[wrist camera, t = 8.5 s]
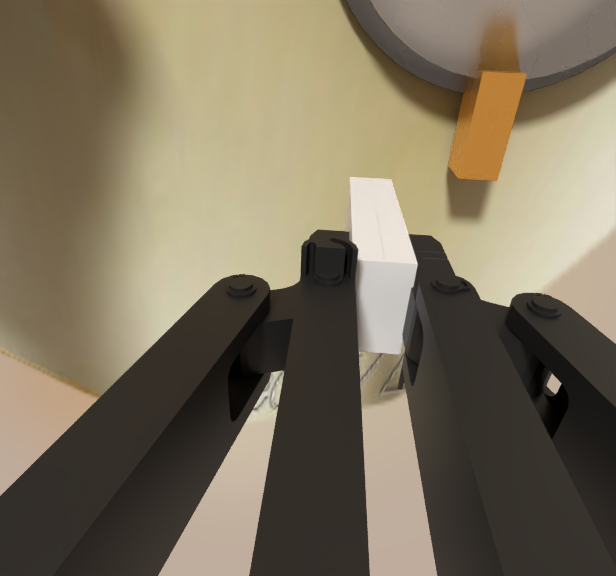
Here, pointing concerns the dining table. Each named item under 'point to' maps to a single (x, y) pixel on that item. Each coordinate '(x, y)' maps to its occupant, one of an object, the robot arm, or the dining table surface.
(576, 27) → the turntable
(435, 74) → the turntable base
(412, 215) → the dining table surface
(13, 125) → the dining table surface
